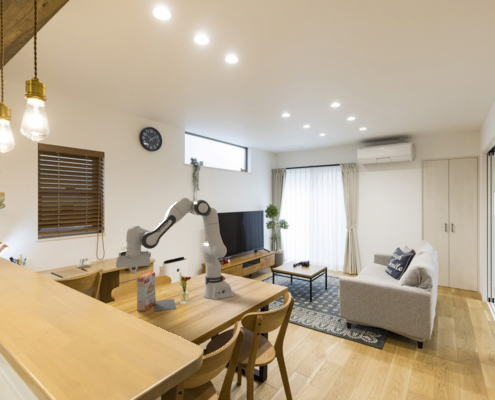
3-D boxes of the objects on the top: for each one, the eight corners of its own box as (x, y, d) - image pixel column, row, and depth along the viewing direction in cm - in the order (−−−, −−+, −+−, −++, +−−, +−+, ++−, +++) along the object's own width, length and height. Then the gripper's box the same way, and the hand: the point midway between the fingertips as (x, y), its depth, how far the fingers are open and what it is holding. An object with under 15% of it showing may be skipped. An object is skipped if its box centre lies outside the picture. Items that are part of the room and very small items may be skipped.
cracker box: (145, 311, 174) (144, 278, 174) (136, 311, 175) (135, 277, 175) (156, 303, 188) (155, 271, 188) (148, 302, 189) (147, 271, 189)
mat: (173, 299, 196) (173, 298, 196) (176, 308, 179) (176, 308, 179) (154, 301, 191) (154, 301, 191) (154, 311, 174) (154, 311, 174)
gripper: (150, 250, 185) (150, 271, 185) (117, 251, 178) (116, 273, 178) (150, 251, 179) (150, 273, 179) (115, 253, 173) (115, 275, 172)
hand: (133, 273), depth 179 cm, fingers closed
